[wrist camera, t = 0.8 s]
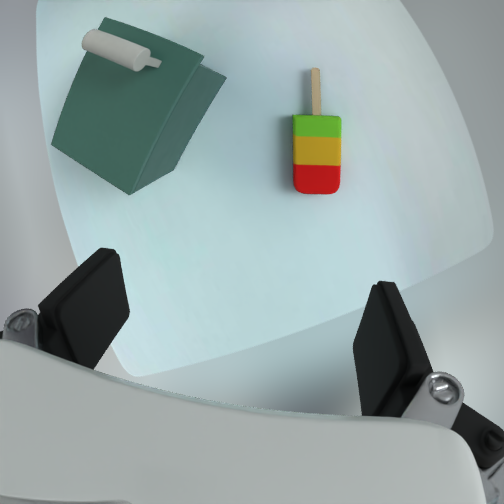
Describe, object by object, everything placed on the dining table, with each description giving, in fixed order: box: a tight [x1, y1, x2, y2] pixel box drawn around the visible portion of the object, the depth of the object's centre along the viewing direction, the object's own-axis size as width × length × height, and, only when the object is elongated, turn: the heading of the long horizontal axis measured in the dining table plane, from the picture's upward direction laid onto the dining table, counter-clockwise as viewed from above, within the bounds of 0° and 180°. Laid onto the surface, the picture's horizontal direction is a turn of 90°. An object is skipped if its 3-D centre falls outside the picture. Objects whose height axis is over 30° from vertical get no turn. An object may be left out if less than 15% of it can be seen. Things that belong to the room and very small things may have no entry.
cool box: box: [133, 64, 226, 193], centre depth 28 cm, size 14×12×11 cm
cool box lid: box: [51, 17, 204, 195], centre depth 21 cm, size 14×12×5 cm
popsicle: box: [292, 68, 341, 194], centre depth 32 cm, size 6×15×2 cm, turn 2°
